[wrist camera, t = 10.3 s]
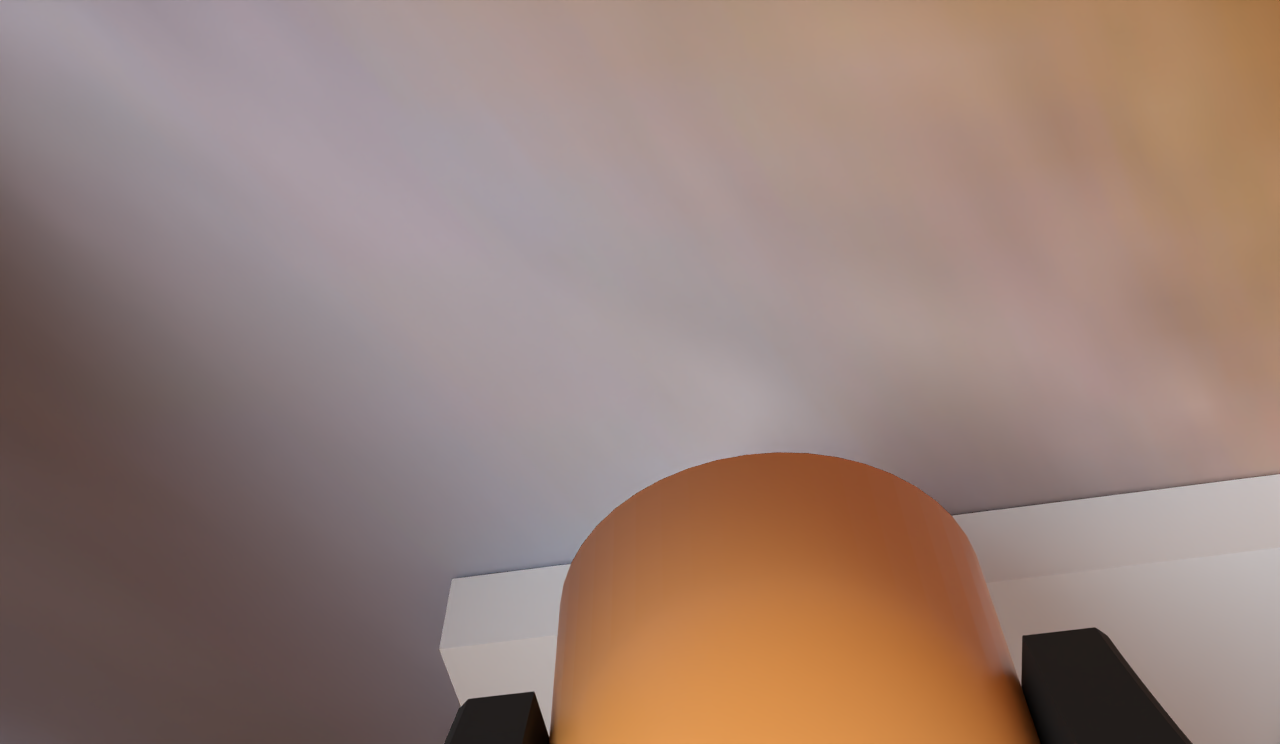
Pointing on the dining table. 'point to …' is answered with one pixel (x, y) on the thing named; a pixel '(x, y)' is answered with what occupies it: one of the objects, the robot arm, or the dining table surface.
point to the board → (1024, 601)
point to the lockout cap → (782, 616)
